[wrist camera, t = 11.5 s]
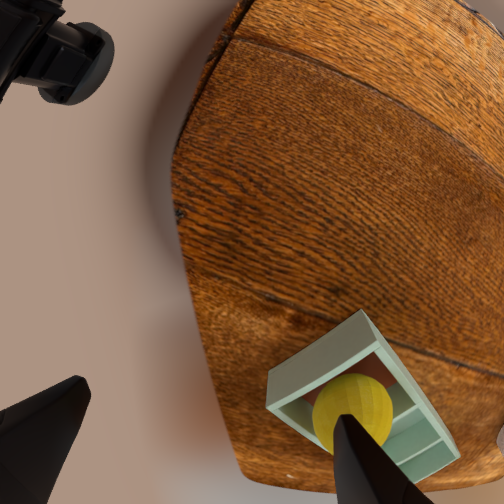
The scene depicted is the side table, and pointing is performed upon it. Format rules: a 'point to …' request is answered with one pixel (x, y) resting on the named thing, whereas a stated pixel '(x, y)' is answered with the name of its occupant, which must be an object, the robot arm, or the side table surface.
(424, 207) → the side table surface
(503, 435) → the planter
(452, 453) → the compartment tray
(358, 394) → the fruit
